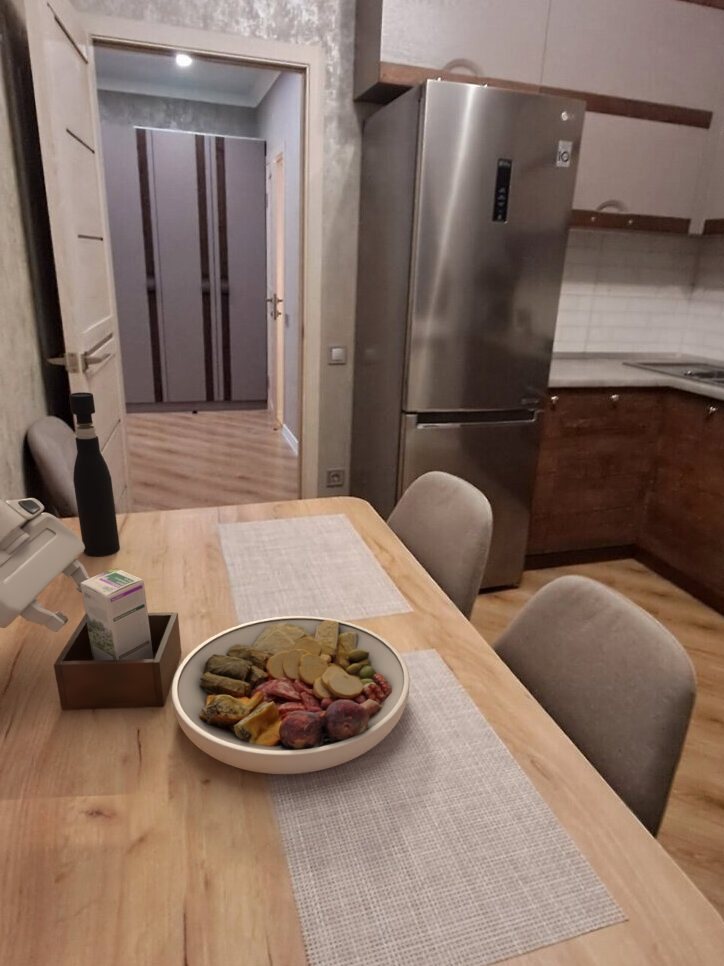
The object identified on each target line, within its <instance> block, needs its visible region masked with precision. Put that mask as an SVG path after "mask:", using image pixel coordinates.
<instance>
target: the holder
mask: <svg viewBox="0 0 724 966" xmlns="http://www.w3.org/2000/svg"><path fill="white" fill-rule="evenodd" d="M148 620H149V627H150V635H151V643H152V651H153V659H135V660H93V657H92V651H91V646H90V639H89V633H88V627H87V621H86V615H85V614H84V615H83V617H82V618H81V620H80V622H79V623H78V625H77V626H76V628H75V630H74V631H73V633H72V634H71V636H70V638H69V639H68V641H67V643H66V644H65V646H64V647H63V649H62V651H61V652H60V654H59V655H58V656H57V658H56V660H55V662H54V664H53V670H54V675H55V680H56V687H57V691H58V697H59V698H58V699H59V703H60V709H61V710H63V711H65V710H91V709H93V710H94V709H96V710H97V709H124V708H125V709H126V708H127V709H128V708H130V709H131V708H154V707H155V708H161V707H165V705H166V701H167V699H168V695H169V693H170V689H171V687H172V682H173V678H174V675H175V673H176V671H177V669H178V666H179V662H180V658H181V655H182V644H181V633H180V632H181V631H180V622H179V613H178V612H148Z"/></svg>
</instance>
